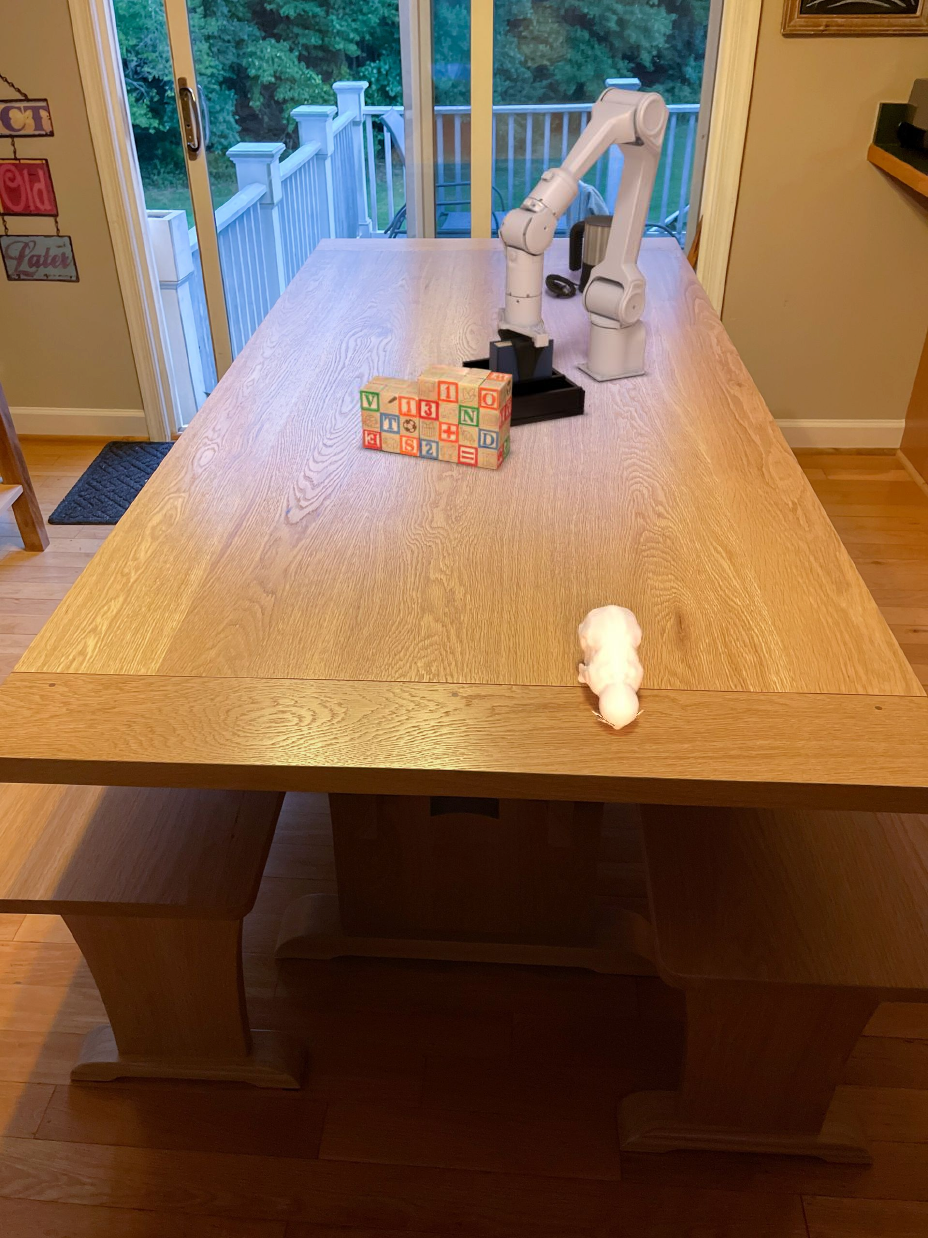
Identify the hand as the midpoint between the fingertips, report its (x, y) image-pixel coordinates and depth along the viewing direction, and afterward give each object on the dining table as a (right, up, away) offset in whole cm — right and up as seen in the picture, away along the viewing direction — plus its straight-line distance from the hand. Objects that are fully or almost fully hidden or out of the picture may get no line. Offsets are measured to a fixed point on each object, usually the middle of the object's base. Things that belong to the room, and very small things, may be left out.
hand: (520, 376), depth 158 cm
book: (0, -2, +1) cm, 2 cm away
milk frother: (+17, +31, +53) cm, 64 cm away
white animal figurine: (+5, -48, -62) cm, 78 cm away
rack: (0, -3, +2) cm, 4 cm away
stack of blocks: (-13, -15, -14) cm, 24 cm away
